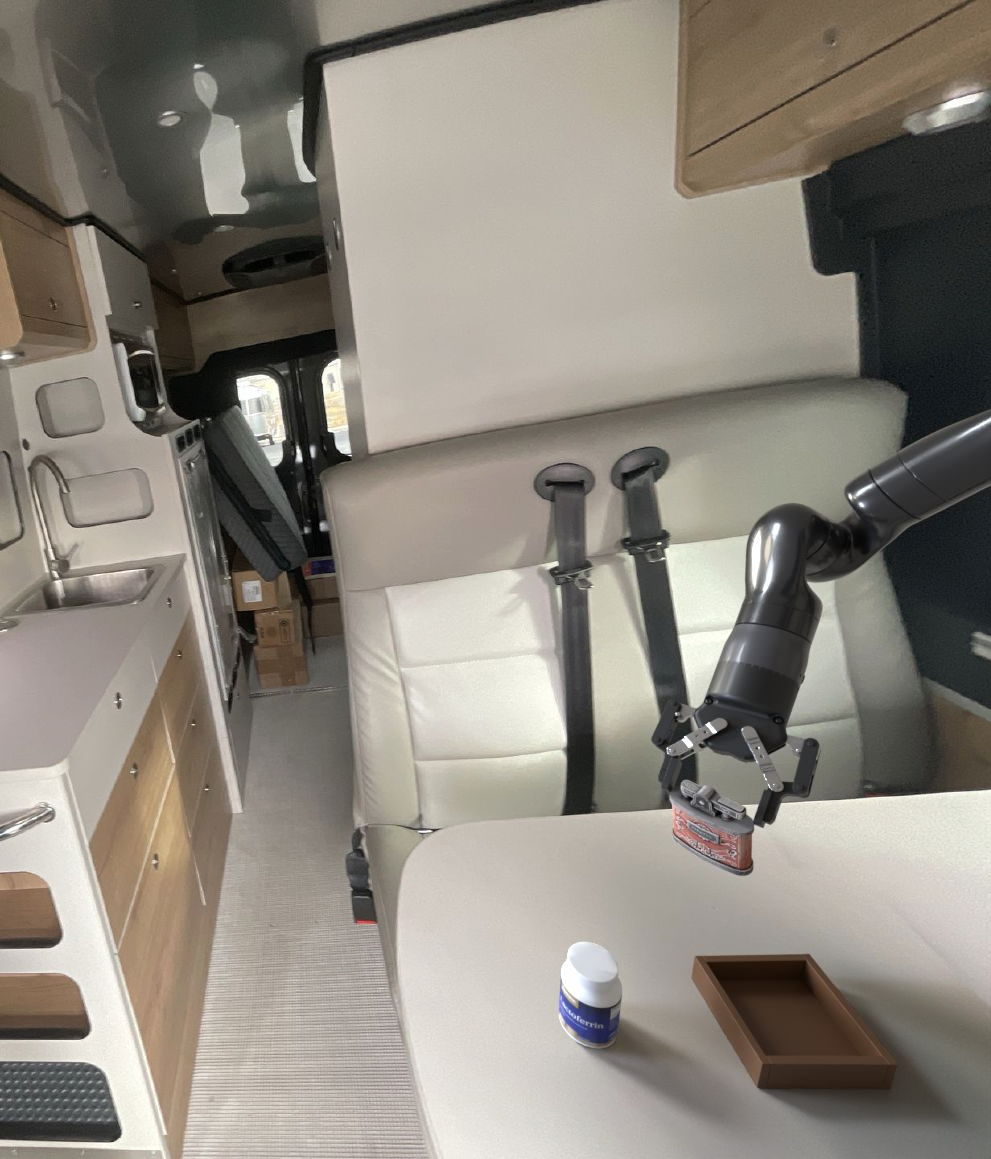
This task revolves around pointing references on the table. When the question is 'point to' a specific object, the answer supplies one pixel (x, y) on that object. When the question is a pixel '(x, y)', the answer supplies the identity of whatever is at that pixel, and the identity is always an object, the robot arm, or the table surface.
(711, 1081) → the table surface
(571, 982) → the pill bottle
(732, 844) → the lighter
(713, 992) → the tray
